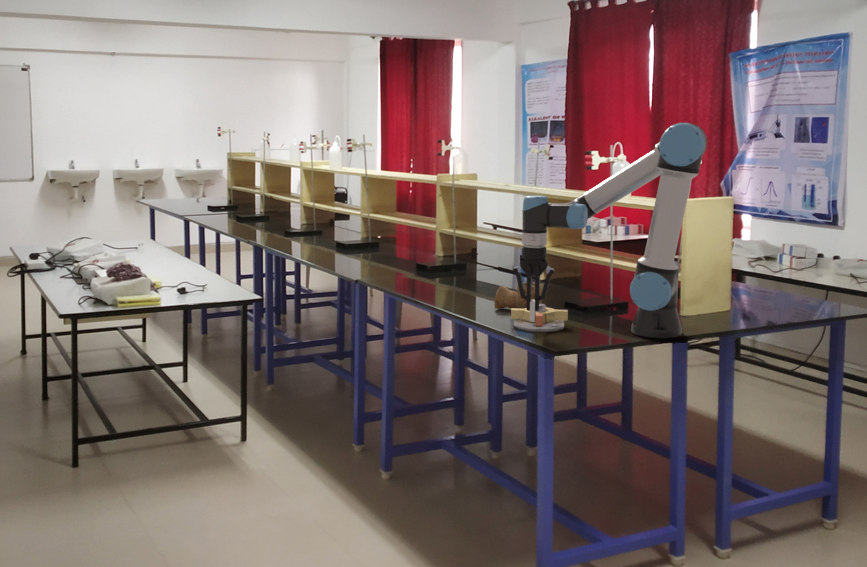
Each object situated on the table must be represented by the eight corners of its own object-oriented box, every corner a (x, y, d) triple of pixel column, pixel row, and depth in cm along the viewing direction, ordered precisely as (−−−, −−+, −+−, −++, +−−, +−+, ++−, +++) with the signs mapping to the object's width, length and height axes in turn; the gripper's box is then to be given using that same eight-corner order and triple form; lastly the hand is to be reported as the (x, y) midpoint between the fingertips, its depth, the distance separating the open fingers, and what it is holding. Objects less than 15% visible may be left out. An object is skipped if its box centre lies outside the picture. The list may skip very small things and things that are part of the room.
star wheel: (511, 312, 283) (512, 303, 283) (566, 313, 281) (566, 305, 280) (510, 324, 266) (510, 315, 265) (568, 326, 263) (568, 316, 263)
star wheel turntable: (515, 320, 283) (516, 299, 282) (564, 321, 280) (564, 300, 279) (512, 331, 267) (512, 309, 266) (563, 333, 265) (564, 311, 263)
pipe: (500, 306, 304) (501, 279, 302) (544, 310, 298) (545, 282, 296) (493, 311, 296) (493, 283, 294) (538, 315, 290) (538, 286, 288)
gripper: (511, 246, 259) (510, 322, 263) (554, 248, 256) (552, 324, 260) (514, 243, 266) (513, 317, 270) (556, 245, 263) (554, 319, 267)
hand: (532, 320), depth 265 cm, fingers closed
